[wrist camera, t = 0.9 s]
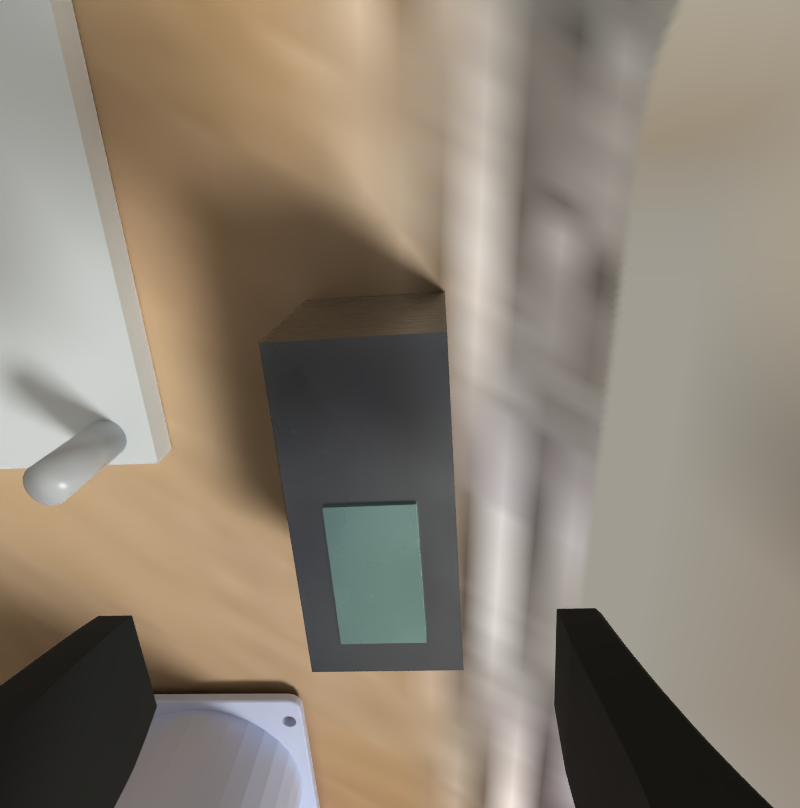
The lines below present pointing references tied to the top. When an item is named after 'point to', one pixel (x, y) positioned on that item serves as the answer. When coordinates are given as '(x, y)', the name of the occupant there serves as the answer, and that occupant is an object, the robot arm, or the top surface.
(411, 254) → the top surface
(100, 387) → the tray
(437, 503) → the block
